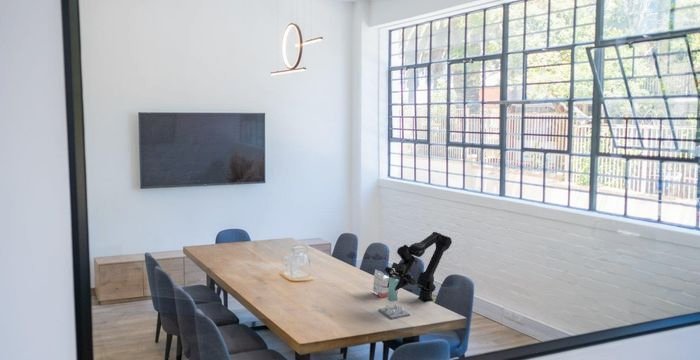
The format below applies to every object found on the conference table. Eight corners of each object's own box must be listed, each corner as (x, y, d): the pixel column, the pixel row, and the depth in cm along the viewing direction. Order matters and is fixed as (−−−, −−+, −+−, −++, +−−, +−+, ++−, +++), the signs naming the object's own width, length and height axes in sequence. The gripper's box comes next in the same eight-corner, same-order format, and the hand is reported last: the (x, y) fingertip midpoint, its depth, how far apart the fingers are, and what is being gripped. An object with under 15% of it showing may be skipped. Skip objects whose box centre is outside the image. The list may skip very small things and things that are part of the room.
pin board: (397, 307, 341) (397, 301, 340) (410, 315, 331) (410, 309, 330) (378, 310, 335) (379, 304, 334) (391, 319, 325) (392, 312, 324)
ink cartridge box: (388, 296, 355) (390, 272, 352) (381, 298, 352) (383, 273, 349) (378, 291, 361) (381, 267, 359) (372, 293, 359) (374, 268, 356)
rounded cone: (391, 297, 337) (392, 276, 334) (398, 299, 334) (400, 278, 331) (385, 299, 333) (387, 278, 330) (393, 302, 330) (395, 281, 327)
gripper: (387, 252, 337) (372, 275, 332) (414, 261, 325) (398, 286, 319) (396, 263, 345) (381, 286, 339) (422, 273, 332) (407, 297, 326)
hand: (391, 288), depth 331 cm, fingers closed on rounded cone, 5 cm apart
